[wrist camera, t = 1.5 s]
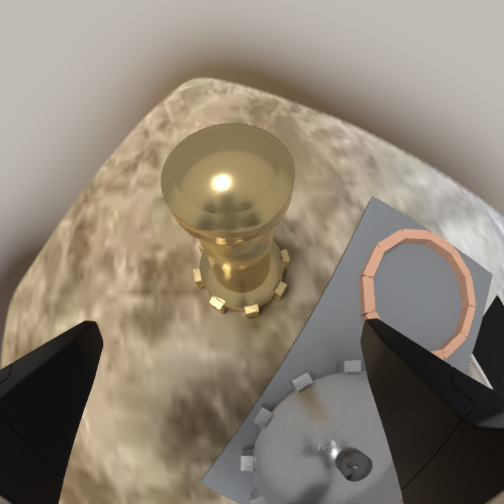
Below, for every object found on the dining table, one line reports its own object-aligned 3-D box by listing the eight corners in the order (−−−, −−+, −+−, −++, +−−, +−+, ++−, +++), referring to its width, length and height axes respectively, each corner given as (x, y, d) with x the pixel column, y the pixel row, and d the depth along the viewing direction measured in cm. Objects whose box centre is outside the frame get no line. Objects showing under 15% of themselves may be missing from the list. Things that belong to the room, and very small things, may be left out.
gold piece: (257, 335, 21) (256, 290, 9) (181, 286, 23) (106, 196, 11) (303, 259, 23) (344, 146, 11) (230, 218, 25) (208, 92, 13)
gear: (359, 542, 13) (374, 565, 9) (205, 481, 16) (194, 503, 12) (449, 402, 17) (480, 404, 13) (309, 327, 20) (321, 317, 16)
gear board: (354, 537, 14) (363, 551, 12) (203, 475, 17) (197, 487, 15) (483, 279, 22) (498, 270, 20) (367, 204, 25) (376, 189, 23)
